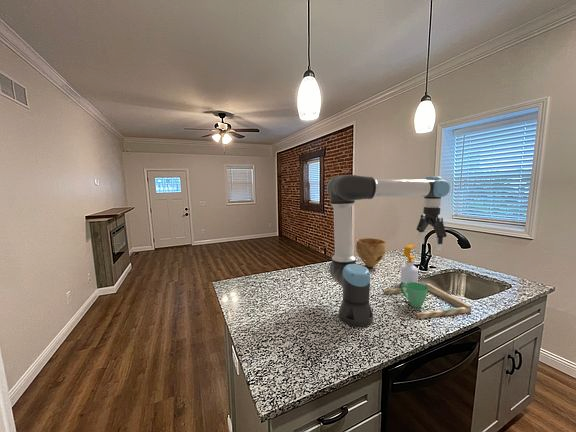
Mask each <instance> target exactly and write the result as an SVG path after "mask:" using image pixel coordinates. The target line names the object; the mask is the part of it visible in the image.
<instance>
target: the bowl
mask: <svg viewBox="0 0 576 432" xmlns="http://www.w3.org/2000/svg"><path fill="white" fill-rule="evenodd" d="M355 244H356V245H355V250H356V253H357V254H358V257H359V258H360V260H361V261H362V262H363V264H364V265H365V266H367V267H368V268H373V267H376V265H378V264H379V263H380V261H382V259H383V258H384V256H385V255H386V252H387V249H386V247H387V244H386V241H385V240H383V239H380V238H379V239H378V238H371V237H366V238H363V237H362V238H361V237H360V238H357V239H356V243H355Z"/></svg>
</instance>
